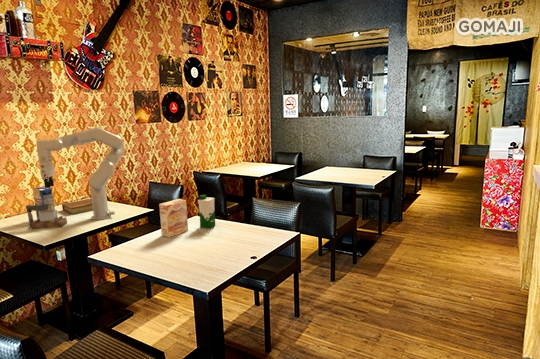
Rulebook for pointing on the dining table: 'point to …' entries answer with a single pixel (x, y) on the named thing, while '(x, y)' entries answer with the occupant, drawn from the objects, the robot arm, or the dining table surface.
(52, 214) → the light grey block
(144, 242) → the dining table surface
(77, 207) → the diary
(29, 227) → the post
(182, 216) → the coffeecake box
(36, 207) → the lever
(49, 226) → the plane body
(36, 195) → the beverage box
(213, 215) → the milk carton
